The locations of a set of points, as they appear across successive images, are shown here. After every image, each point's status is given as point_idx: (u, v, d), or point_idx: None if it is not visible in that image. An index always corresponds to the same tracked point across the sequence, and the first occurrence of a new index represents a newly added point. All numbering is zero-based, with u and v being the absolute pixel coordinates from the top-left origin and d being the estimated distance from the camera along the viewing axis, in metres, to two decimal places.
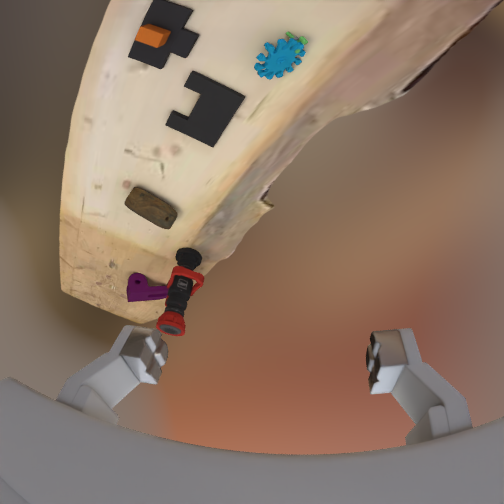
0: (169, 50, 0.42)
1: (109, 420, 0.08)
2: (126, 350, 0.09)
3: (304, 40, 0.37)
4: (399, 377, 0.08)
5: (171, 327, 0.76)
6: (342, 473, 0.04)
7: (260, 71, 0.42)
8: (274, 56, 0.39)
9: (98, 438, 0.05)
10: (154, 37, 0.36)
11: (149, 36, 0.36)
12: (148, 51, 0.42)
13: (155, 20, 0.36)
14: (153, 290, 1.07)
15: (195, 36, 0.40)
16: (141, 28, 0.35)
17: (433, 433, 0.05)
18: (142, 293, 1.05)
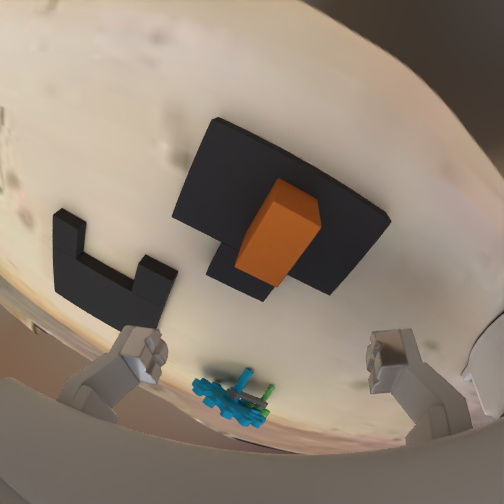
0: (225, 243, 0.21)
1: (109, 420, 0.08)
2: (126, 350, 0.09)
3: None
4: (399, 377, 0.08)
5: None
6: (342, 473, 0.04)
7: (202, 393, 0.29)
8: None
9: (98, 438, 0.05)
10: (269, 264, 0.17)
11: (277, 251, 0.16)
12: (224, 188, 0.19)
13: (323, 217, 0.19)
14: None
15: (262, 299, 0.24)
16: (313, 230, 0.15)
17: (433, 433, 0.05)
18: None
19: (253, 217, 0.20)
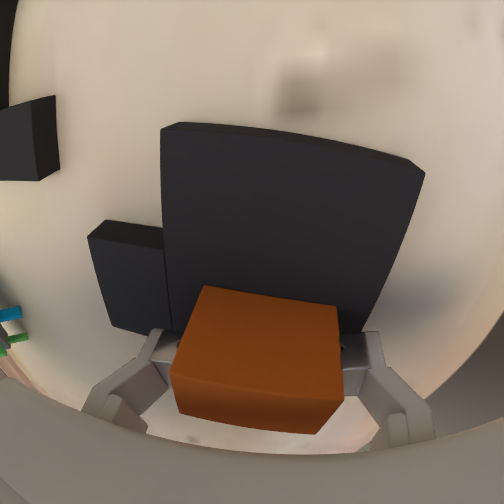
0: (165, 256, 0.10)
1: (138, 429, 0.08)
2: (158, 355, 0.09)
3: None
4: (363, 381, 0.08)
5: None
6: (342, 473, 0.04)
7: None
8: None
9: (98, 438, 0.05)
10: (213, 408, 0.08)
11: (247, 414, 0.08)
12: (285, 229, 0.09)
13: None
14: None
15: (115, 325, 0.13)
16: (307, 431, 0.08)
17: (390, 441, 0.05)
18: None
19: (245, 289, 0.10)
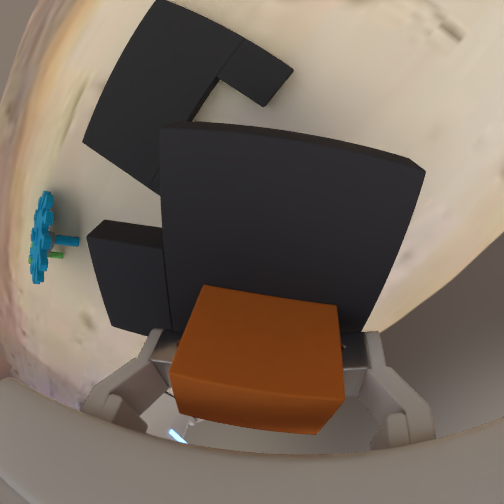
0: (165, 256, 0.10)
1: (138, 429, 0.08)
2: (157, 355, 0.09)
3: (30, 263, 0.26)
4: (363, 381, 0.08)
5: None
6: (342, 473, 0.04)
7: (48, 224, 0.22)
8: (36, 255, 0.23)
9: (98, 438, 0.05)
10: (213, 408, 0.08)
11: (247, 414, 0.08)
12: (285, 228, 0.09)
13: None
14: None
15: (114, 325, 0.13)
16: (307, 431, 0.08)
17: (390, 441, 0.05)
18: None
19: (245, 289, 0.10)
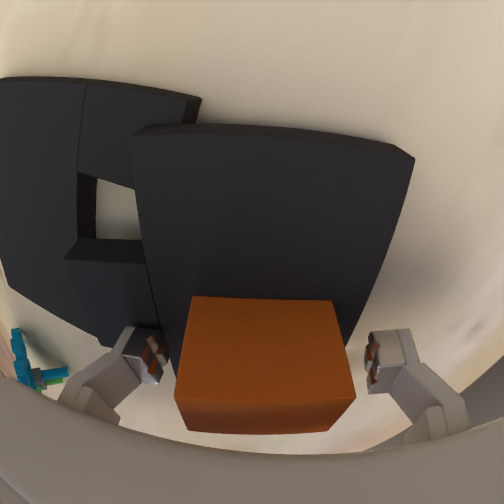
0: (149, 271, 0.09)
1: (110, 420, 0.08)
2: (128, 351, 0.09)
3: None
4: (397, 378, 0.08)
5: None
6: (342, 473, 0.04)
7: (21, 375, 0.16)
8: None
9: (98, 438, 0.05)
10: (223, 423, 0.08)
11: (259, 423, 0.08)
12: (274, 230, 0.08)
13: None
14: None
15: (104, 344, 0.12)
16: (319, 429, 0.08)
17: (431, 433, 0.05)
18: None
19: (237, 295, 0.10)
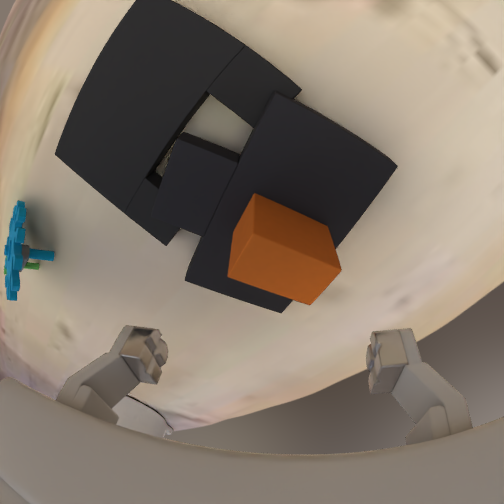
0: (237, 168, 0.15)
1: (109, 420, 0.08)
2: (127, 350, 0.09)
3: (5, 273, 0.23)
4: (399, 377, 0.08)
5: None
6: (342, 473, 0.04)
7: (19, 242, 0.18)
8: (9, 272, 0.19)
9: (98, 438, 0.05)
10: (261, 269, 0.14)
11: (281, 275, 0.14)
12: (319, 171, 0.15)
13: None
14: None
15: (155, 215, 0.17)
16: (307, 300, 0.15)
17: (433, 433, 0.05)
18: None
19: (279, 202, 0.16)
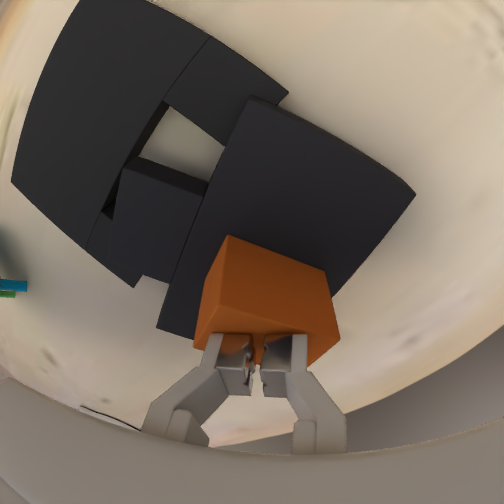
0: (202, 203, 0.11)
1: (203, 444, 0.07)
2: (223, 362, 0.09)
3: None
4: (286, 383, 0.08)
5: None
6: (342, 473, 0.04)
7: None
8: None
9: (98, 438, 0.05)
10: None
11: (261, 347, 0.11)
12: (313, 205, 0.11)
13: None
14: None
15: (111, 260, 0.13)
16: None
17: (293, 448, 0.06)
18: None
19: (261, 245, 0.12)
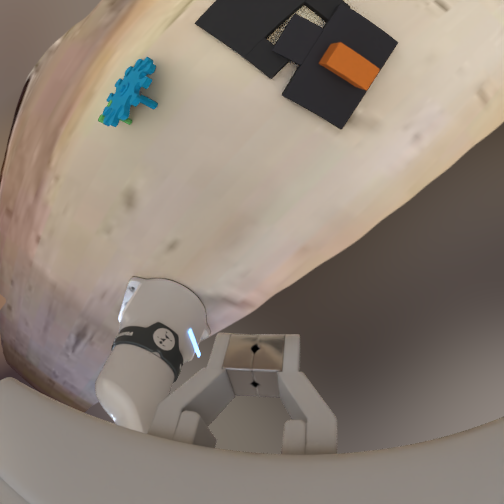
0: (323, 31, 0.23)
1: (210, 445, 0.07)
2: (231, 362, 0.09)
3: (100, 120, 0.30)
4: (278, 383, 0.08)
5: None
6: (342, 473, 0.04)
7: (149, 72, 0.26)
8: (124, 99, 0.27)
9: (98, 438, 0.05)
10: (343, 61, 0.22)
11: (352, 67, 0.22)
12: (361, 38, 0.23)
13: (343, 89, 0.27)
14: None
15: (275, 50, 0.25)
16: (365, 86, 0.23)
17: (283, 448, 0.06)
18: None
19: None
